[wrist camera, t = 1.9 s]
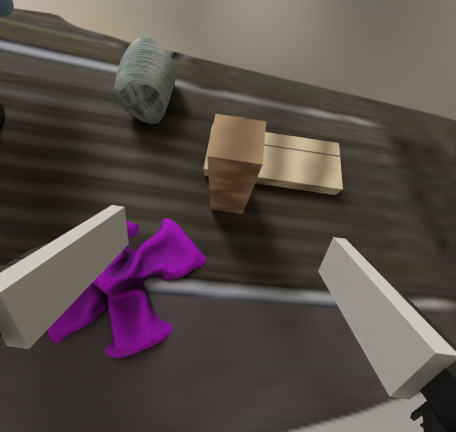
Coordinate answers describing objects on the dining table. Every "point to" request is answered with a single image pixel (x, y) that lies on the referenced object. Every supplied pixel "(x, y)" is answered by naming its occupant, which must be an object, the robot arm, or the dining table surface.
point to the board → (299, 164)
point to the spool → (145, 80)
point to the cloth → (132, 291)
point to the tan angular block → (234, 161)
